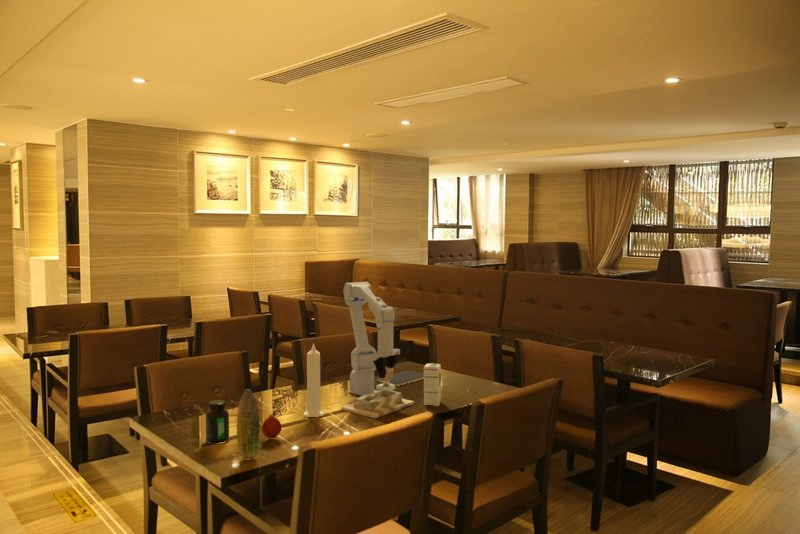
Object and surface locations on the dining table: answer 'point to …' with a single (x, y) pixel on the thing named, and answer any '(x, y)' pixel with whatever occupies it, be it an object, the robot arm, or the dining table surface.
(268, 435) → the onion
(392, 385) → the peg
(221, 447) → the dining table surface
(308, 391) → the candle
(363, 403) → the holder
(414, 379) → the notebook
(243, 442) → the vegetable
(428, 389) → the syrup box
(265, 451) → the dining table surface
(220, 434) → the supplement bottle
